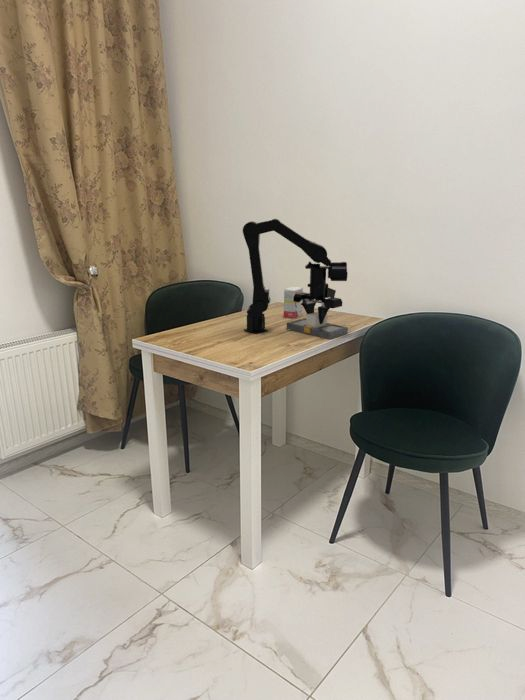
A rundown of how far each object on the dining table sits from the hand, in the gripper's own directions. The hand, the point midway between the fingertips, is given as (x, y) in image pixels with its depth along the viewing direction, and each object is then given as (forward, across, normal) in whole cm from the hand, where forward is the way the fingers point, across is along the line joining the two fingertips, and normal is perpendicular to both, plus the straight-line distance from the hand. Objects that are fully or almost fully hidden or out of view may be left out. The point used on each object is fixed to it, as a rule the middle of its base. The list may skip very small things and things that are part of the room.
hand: (316, 323), depth 183 cm
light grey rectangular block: (+1, 0, 0) cm, 1 cm away
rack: (+3, 0, 0) cm, 3 cm away
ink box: (+4, +23, -13) cm, 27 cm away
